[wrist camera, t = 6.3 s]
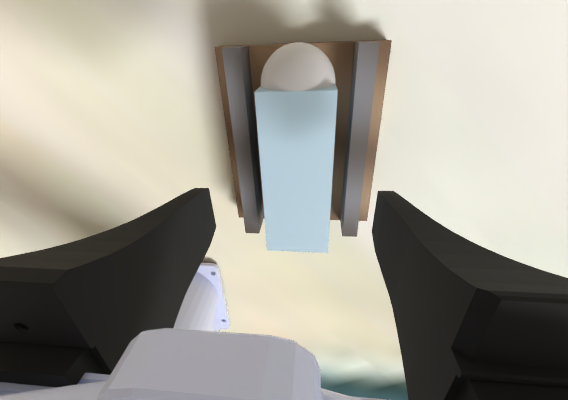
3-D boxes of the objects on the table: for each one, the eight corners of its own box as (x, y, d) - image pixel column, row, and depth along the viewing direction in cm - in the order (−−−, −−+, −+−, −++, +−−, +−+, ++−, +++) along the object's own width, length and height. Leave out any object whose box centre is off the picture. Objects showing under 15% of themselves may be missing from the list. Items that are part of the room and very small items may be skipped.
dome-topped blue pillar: (326, 218, 22) (327, 252, 18) (274, 216, 22) (267, 250, 19) (335, 40, 16) (340, 42, 12) (264, 42, 16) (250, 45, 13)
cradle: (364, 212, 23) (371, 237, 20) (242, 209, 24) (232, 232, 21) (386, 39, 17) (400, 41, 14) (220, 46, 18) (203, 48, 15)
